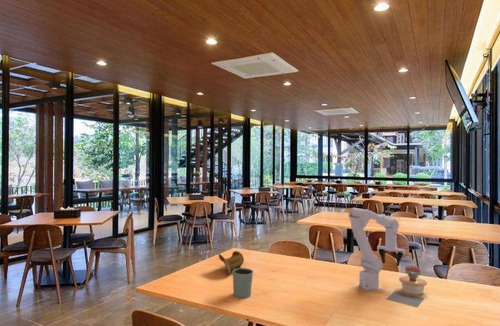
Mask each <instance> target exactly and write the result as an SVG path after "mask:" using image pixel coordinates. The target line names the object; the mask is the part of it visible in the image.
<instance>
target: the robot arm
mask: <svg viewBox="0 0 500 326" xmlns="http://www.w3.org/2000/svg"><path fill="white" fill-rule="evenodd" d="M348 213H349V214H348V218H349V221H350V225H351V226H350V227H351V231H352V233H353V236H354V238H355V240H356V243H357V245H358V247H359V250H360V252H361V256H360V257H359V258H360V263H361V267H362V268H363V270H360V271H359V274H358V275H359V278H358V279H359V283H358V285H359V286H360V287H361V288H363V290H366V291H367V290H369V291H370V290H372V291H373V290H383V288H382V287H381V286H379V285H380V283H379V281H380V279H379V278H380V277H379V276H380V272H381V271H382V269H383V264H385V263H386V251H388V252H392V253H396V267H399V266H400V263H401V259H402V258H403V256H404V255H405V254H406V249H404V248H399V247H397V240H398V239H397V235H398V234H397V233H398V232H399V231H398V229H399V227H400V224H399V221H398V220H397V219H396V218H392V217H391V216H387V215H386V214H385V213H379V214H377V213H376V212H375V211H374V212H373V211H372V210H369V209H363V208H357V207H352V208H351V209H350V211H349V212H348ZM370 220H374V221H375V222H376V223H377V224H378V225H380V226H383V228H384V231H385V240H384V241H385V245H377V247H376V249H377V250H378V253H379V255H380V258H381V259H380V258H379V257H378V255H376V254H375V253H374V252H373V249H372V247H371V244H370V241H369V239H368V237H367V234H366V233H365V230H364V228H366V227H367V226H368V225H367V224H368V223H369V222H370Z"/></svg>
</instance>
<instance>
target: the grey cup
mask: <svg viewBox="0 0 500 326" xmlns="http://www.w3.org/2000/svg"><path fill="white" fill-rule="evenodd" d="M253 275H254V270H253V269H251V268H248V267H247V268H245V267H237V268H234V269H232V284H233V285H232V287H233V293H232V294H233V297H234V298H237V299H248V298H250V297H251V295H252V285H253V284H252V283H253Z"/></svg>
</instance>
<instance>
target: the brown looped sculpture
mask: <svg viewBox="0 0 500 326" xmlns="http://www.w3.org/2000/svg"><path fill="white" fill-rule="evenodd" d="M218 257H219V261H221V262H223V264H224V266H225V268H226V271H227V272H226V273H227V274H228V276H230V275H231V272H232V271H233V270H234V269H237V268H239V267H241V266H243V264H244V261H245V259H244V256H243V253H241V252H240V251H238V250H236V251H233V252H232V254H231V256H230V257H228V258H225V257H224V255H222V254H221V253H219V254H218Z"/></svg>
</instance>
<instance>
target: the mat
mask: <svg viewBox="0 0 500 326" xmlns="http://www.w3.org/2000/svg"><path fill="white" fill-rule="evenodd" d="M386 300H387V301H390V302H395V303H398V304H402V305H405V306H410V307H414V308H418V307H419V306H420V305H421V303H422V302H423V301H424V300H425V297H420V296H418V295H417V296H416V295H414V294H409V293H408V294H407V293H403V292H400V291H395V290H394V291H393V292H392V293H391V294H390V295H388V296H387V298H386Z"/></svg>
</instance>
